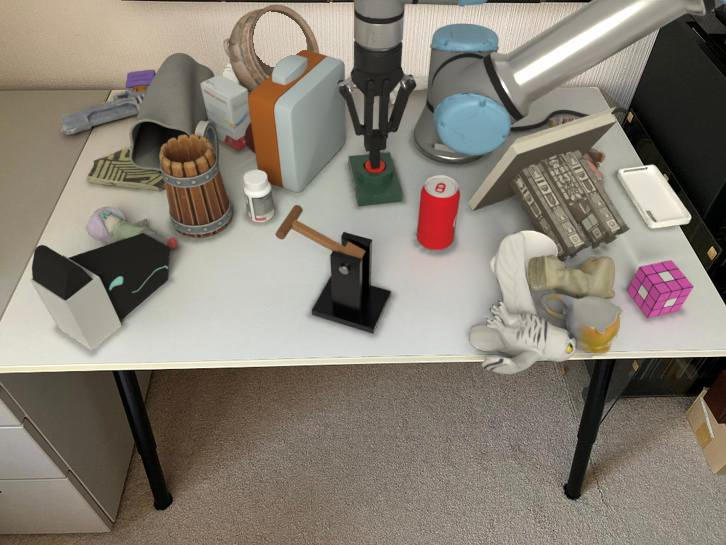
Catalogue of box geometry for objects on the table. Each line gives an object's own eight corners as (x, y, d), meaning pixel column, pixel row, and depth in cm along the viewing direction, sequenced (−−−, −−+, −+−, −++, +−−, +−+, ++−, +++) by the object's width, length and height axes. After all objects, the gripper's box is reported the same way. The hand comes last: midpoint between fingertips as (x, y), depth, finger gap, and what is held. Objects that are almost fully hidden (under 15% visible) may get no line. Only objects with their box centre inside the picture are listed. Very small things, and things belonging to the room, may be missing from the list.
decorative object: (181, 273, 100) (159, 203, 89) (92, 351, 90) (55, 282, 79) (145, 253, 103) (120, 183, 92) (55, 326, 93) (14, 257, 82)
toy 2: (540, 222, 89) (581, 290, 96) (458, 248, 96) (501, 309, 104) (532, 354, 73) (581, 423, 80) (434, 373, 80) (487, 435, 88)
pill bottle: (279, 209, 111) (275, 172, 105) (266, 226, 108) (260, 189, 102) (256, 202, 112) (251, 165, 106) (242, 218, 109) (235, 181, 103)
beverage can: (456, 232, 107) (465, 177, 98) (448, 257, 103) (456, 202, 94) (421, 224, 109) (427, 169, 100) (411, 248, 105) (416, 193, 96)
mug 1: (221, 244, 105) (204, 173, 94) (162, 235, 106) (139, 164, 95) (250, 185, 115) (239, 116, 104) (196, 178, 117) (179, 108, 106)
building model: (468, 202, 111) (516, 289, 106) (515, 139, 93) (576, 241, 88) (555, 171, 118) (604, 252, 113) (616, 106, 99) (677, 199, 95)
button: (382, 165, 116) (382, 157, 114) (386, 177, 113) (386, 170, 112) (363, 167, 115) (363, 159, 114) (366, 179, 113) (366, 171, 112)
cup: (555, 292, 98) (565, 262, 93) (494, 300, 97) (501, 271, 92) (537, 257, 103) (546, 227, 98) (479, 264, 102) (485, 234, 97)
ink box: (256, 141, 124) (249, 88, 116) (238, 152, 122) (229, 99, 113) (228, 124, 128) (219, 72, 119) (210, 134, 126) (199, 82, 117)
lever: (273, 238, 87) (277, 228, 85) (291, 211, 91) (295, 200, 89) (349, 280, 87) (355, 270, 85) (364, 251, 91) (370, 241, 89)
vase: (227, 61, 131) (204, 134, 109) (208, 108, 138) (183, 186, 116) (169, 34, 127) (133, 105, 105) (153, 84, 134) (117, 161, 112)
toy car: (212, 102, 134) (205, 73, 129) (239, 75, 142) (233, 46, 137) (237, 106, 133) (230, 77, 128) (262, 78, 140) (257, 50, 135)
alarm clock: (309, 131, 127) (303, 34, 111) (347, 143, 124) (346, 46, 109) (258, 182, 116) (243, 82, 100) (298, 197, 113) (289, 97, 98)
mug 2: (609, 339, 83) (600, 367, 88) (631, 307, 87) (622, 335, 92) (529, 299, 89) (525, 328, 94) (553, 271, 93) (548, 299, 98)
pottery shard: (127, 150, 122) (124, 142, 121) (179, 185, 115) (176, 176, 113) (78, 177, 117) (75, 168, 115) (129, 215, 109) (126, 206, 108)
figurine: (581, 108, 123) (618, 175, 110) (575, 130, 127) (611, 196, 114) (547, 112, 123) (580, 179, 110) (542, 133, 127) (574, 200, 114)
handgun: (45, 89, 130) (60, 128, 121) (151, 64, 137) (173, 98, 129) (50, 104, 132) (66, 142, 124) (155, 78, 140) (176, 112, 131)
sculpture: (621, 255, 94) (552, 252, 87) (622, 303, 94) (552, 304, 86) (590, 257, 99) (521, 254, 92) (591, 302, 99) (522, 303, 92)
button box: (389, 161, 121) (390, 144, 118) (402, 201, 113) (403, 184, 110) (348, 165, 120) (348, 148, 117) (358, 206, 112) (358, 189, 109)
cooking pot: (293, 30, 143) (328, 13, 134) (301, 113, 144) (337, 101, 135) (196, 10, 126) (229, -12, 117) (206, 104, 127) (240, 89, 118)
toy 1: (150, 251, 96) (68, 216, 98) (147, 280, 99) (67, 245, 101) (189, 225, 105) (113, 193, 108) (186, 251, 108) (111, 220, 110)
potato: (266, 166, 123) (239, 141, 123) (292, 138, 123) (266, 113, 123) (261, 158, 116) (233, 132, 116) (290, 128, 116) (262, 102, 116)
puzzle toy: (679, 310, 96) (694, 286, 92) (647, 318, 95) (660, 294, 91) (658, 283, 100) (671, 259, 95) (626, 290, 99) (638, 266, 94)
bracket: (311, 315, 95) (306, 257, 85) (332, 278, 100) (329, 220, 90) (373, 334, 93) (375, 276, 83) (391, 295, 98) (394, 237, 88)
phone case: (690, 223, 109) (652, 169, 118) (693, 218, 108) (654, 163, 117) (649, 229, 108) (615, 174, 118) (651, 223, 107) (617, 168, 117)
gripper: (414, 25, 99) (405, 148, 116) (332, 31, 97) (336, 154, 115) (425, 49, 94) (414, 173, 111) (339, 55, 92) (341, 180, 110)
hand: (374, 163), depth 113 cm, fingers closed
